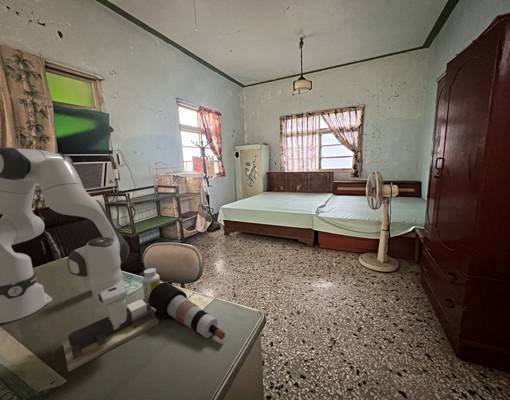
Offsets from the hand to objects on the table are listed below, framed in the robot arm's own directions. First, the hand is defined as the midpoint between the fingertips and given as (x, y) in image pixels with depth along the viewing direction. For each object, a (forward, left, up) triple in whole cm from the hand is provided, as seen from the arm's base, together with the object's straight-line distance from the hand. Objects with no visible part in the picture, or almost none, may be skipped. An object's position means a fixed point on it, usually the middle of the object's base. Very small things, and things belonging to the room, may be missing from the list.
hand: (113, 324), depth 74 cm
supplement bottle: (-11, +17, -4) cm, 21 cm away
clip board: (0, 0, -3) cm, 3 cm away
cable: (+15, +19, -4) cm, 25 cm away
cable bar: (0, 0, -2) cm, 2 cm away
